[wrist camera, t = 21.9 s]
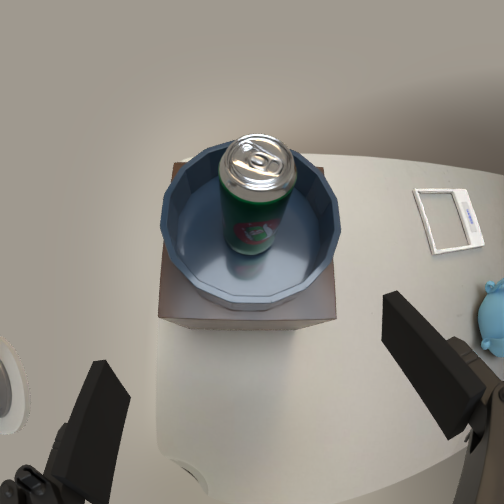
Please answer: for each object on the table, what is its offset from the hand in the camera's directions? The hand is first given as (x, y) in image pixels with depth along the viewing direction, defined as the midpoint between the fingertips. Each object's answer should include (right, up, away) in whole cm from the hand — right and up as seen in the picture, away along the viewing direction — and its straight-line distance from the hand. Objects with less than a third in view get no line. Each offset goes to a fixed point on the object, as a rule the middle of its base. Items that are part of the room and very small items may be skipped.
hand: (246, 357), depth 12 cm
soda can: (0, +6, +17) cm, 18 cm away
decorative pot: (+55, -11, +36) cm, 66 cm away
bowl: (0, +6, +17) cm, 18 cm away
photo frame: (+45, +12, +43) cm, 63 cm away
